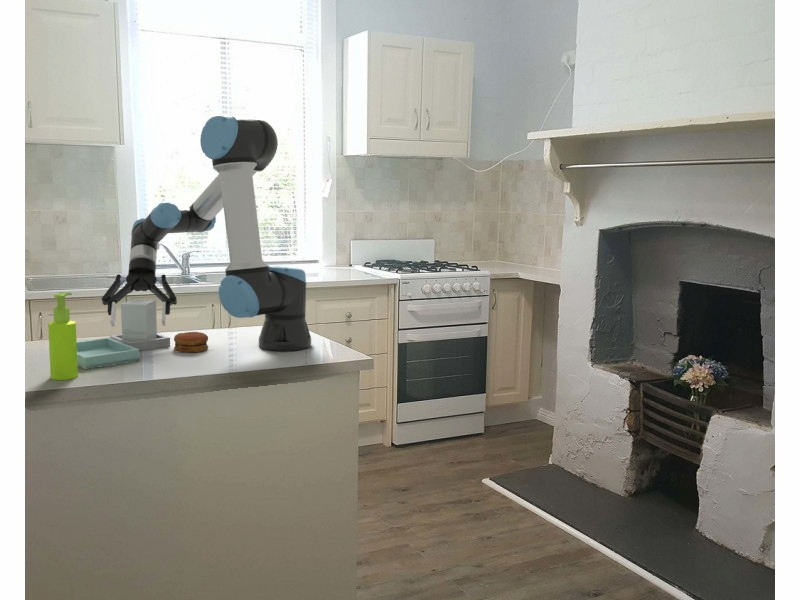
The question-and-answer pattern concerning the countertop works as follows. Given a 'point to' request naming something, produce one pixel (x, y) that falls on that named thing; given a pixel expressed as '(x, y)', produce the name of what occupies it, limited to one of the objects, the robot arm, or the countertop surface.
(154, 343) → the holder
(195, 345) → the burger
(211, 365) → the countertop surface
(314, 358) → the countertop surface
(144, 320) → the supplement box
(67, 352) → the soap dispenser
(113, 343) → the tray
